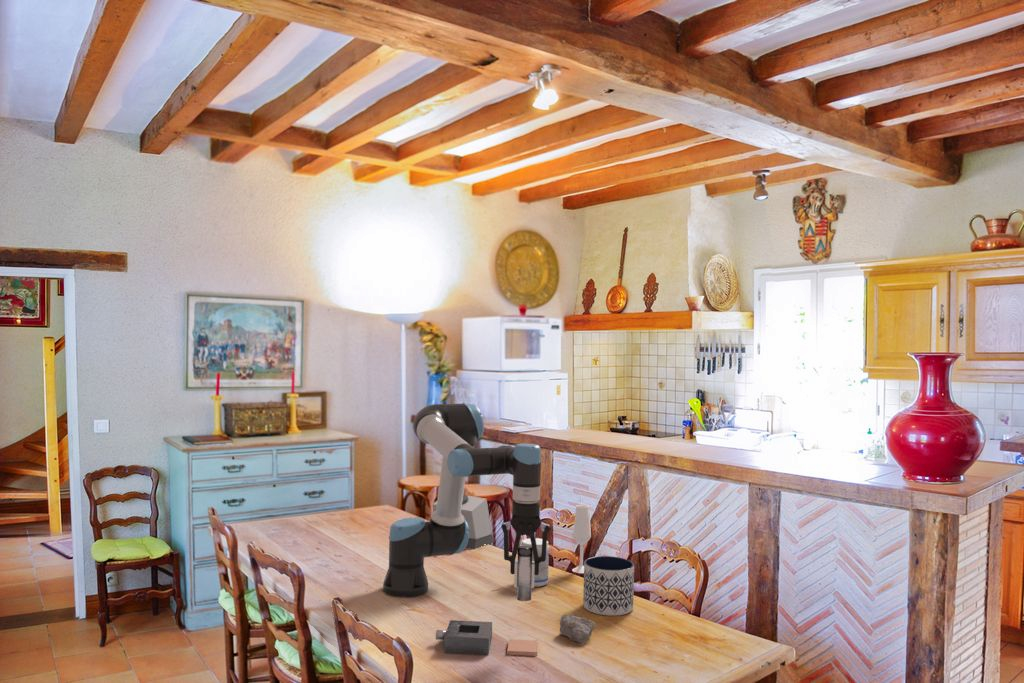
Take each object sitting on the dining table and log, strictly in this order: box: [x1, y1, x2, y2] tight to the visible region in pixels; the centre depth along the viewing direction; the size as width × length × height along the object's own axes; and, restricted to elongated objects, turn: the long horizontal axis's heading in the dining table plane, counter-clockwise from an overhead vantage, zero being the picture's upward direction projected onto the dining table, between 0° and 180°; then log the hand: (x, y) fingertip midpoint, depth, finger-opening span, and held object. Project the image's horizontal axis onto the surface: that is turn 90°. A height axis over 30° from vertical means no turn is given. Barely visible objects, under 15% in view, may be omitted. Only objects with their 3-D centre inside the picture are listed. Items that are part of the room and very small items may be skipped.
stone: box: [559, 614, 596, 644], centre depth 218 cm, size 10×8×6 cm
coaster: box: [506, 638, 539, 657], centre depth 208 cm, size 8×8×1 cm
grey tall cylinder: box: [516, 545, 533, 602], centre depth 208 cm, size 4×4×14 cm
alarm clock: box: [432, 493, 494, 550], centre depth 318 cm, size 20×16×20 cm
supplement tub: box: [521, 537, 550, 588], centre depth 266 cm, size 10×10×15 cm
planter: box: [582, 555, 635, 617], centre depth 243 cm, size 16×16×14 cm
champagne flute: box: [571, 504, 592, 574], centre depth 282 cm, size 7×7×24 cm
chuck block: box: [435, 619, 493, 656], centre depth 210 cm, size 15×12×4 cm
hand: (524, 585), depth 209 cm, fingers closed on grey tall cylinder, 4 cm apart
